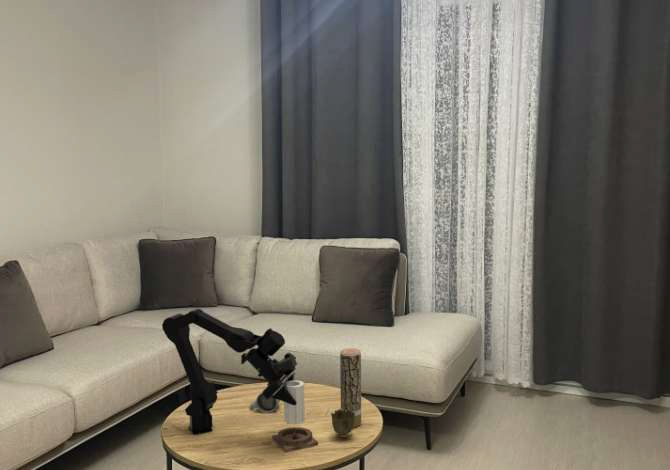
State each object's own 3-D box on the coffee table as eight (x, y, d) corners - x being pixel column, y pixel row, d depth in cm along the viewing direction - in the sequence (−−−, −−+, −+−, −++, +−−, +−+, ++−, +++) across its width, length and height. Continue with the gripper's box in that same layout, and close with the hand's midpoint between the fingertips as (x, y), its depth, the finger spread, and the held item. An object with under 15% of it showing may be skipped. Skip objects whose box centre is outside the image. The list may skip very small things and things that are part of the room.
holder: (285, 452, 205) (284, 443, 205) (272, 438, 215) (272, 430, 215) (318, 444, 210) (317, 436, 210) (303, 432, 220) (303, 423, 219)
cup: (341, 430, 221) (341, 406, 220) (359, 436, 216) (359, 412, 215) (326, 438, 215) (326, 414, 214) (345, 444, 210) (344, 419, 209)
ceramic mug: (281, 404, 244) (281, 384, 243) (277, 413, 236) (276, 392, 235) (253, 404, 245) (252, 383, 244) (247, 413, 237) (246, 391, 236)
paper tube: (359, 429, 222) (358, 355, 218) (339, 427, 223) (338, 353, 220) (362, 420, 228) (362, 348, 225) (343, 419, 230) (342, 348, 226)
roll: (291, 426, 208) (290, 388, 206) (281, 419, 213) (280, 382, 211) (307, 421, 211) (307, 384, 209) (298, 415, 216) (297, 379, 214)
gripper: (272, 356, 201) (308, 394, 200) (289, 339, 219) (322, 374, 218) (247, 380, 203) (283, 418, 202) (266, 361, 221) (299, 396, 220)
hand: (298, 400), depth 211 cm, fingers closed on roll, 6 cm apart
